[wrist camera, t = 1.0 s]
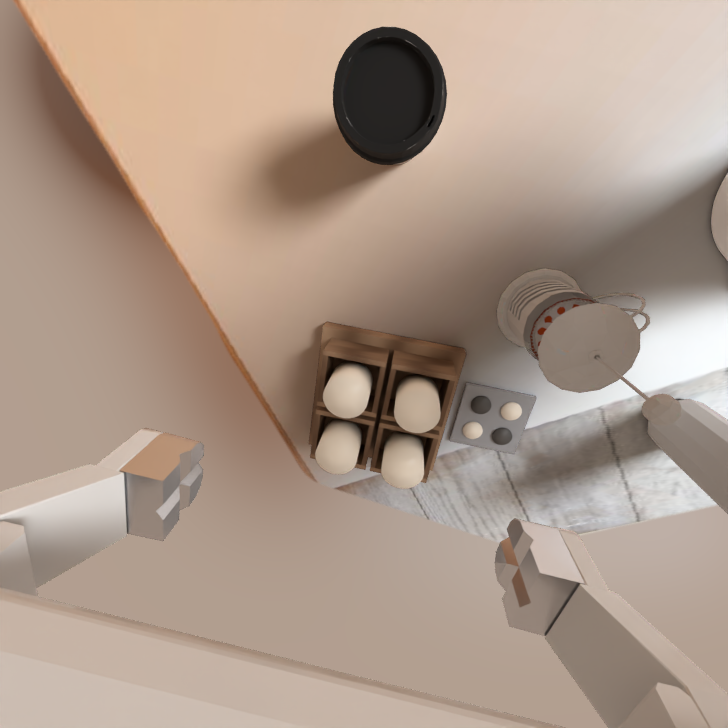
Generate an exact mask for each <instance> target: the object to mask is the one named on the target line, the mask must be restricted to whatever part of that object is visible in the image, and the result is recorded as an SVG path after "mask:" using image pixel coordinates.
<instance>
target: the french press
mask: <svg viewBox="0 0 728 728" xmlns="http://www.w3.org/2000/svg"><path fill="white" fill-rule="evenodd" d="M611 296H632V297H635V298H639V299H640V300H641V301H642V306H641V307H640V309H639V310H638V309H625V308H618V307H617V306H613V305H607V304H601V303H599V302H597V301H596V299H600V298H605V297H611ZM644 307H645V299H644V298H643V297H641V296H638V295H635V294H630V293H613V294H606V295H602V296H597V297H593V298H592V297H590V296H589V295H588V294H586V293H583V292H582V291H581V289H580V288H579V286H578V284H577V282H576V281H575V279H573V278H572V277H570V276H569V275H567V274H566V273H564V272H562V271H560V270H553V269H547V268H542V269H538V270H534V271H529V272H526V273H524V274H523V275H521V276H520V277H518V278H517V279H515V280H514V281H512V282H511V283H510V284H509V286H508V287H507V288H506V290H505V291H504V292H503V294H502V295H501V297H500V300H499V304H498V307H497V311H496V312H497V320H498V326H499V328H500V329H501V331H502V332H503V334H504V336H505V337H506V339H508V340H510V341H511V342H513V343H515V344H516V345H518V346H520V347H525V348H526V349H527V351H528V352H529V353H530V354H531V355H532V356H533V357H534V358H535V359H537V360H538V361H539V367H540V368H541V370H542V372H543V374H544V375H545V377H546V379H547V380H548V381H549V382H551V383H552V384H554V385H556V386H557V387H559V388H560V389H562V390H568V391H573V392H578V393H581V392H588V391H594V390H600V389H602V388H604V387H606V386H608V385H610V384H612V383H614V382H616V381H618V380H619V379H621V380H623V381H624V382H625V383H626V384H627V385H629V386H630V387H631V388H632V389H633V390H635V391H636V392H637V393H638V394H639V395H641V396H642V397H643V398H644V399H646V401H645V402H644V404H643V406H642V414H643V415H644V417H645V418H647V419H648V420H649V421H651V422H652V423H653V424H655V425H663V426H667V425H669V424H672V423H674V422H676V421H677V420H678V419H679V418H680V417H681V404H680V403H679V402H678V401H677V400H675V399H674V398H673V397H671V396H670V395H667V394H658V395H654V396H652V397H650V398H649V397H647V396H646V395H645V394H644V393H642V392H641V391H640V390H639V389H637V388H636V387H635V386H634V385H633V384H631V383H630V382H629V381H628V380H626V379H625V378H624V377H623V375H624V374H625V373H626V372H627V371H628V370H629V369H630V368H631V367H632V365H633V363H634V361H635V359H636V357H637V355H638V353H639V351H640V332H641V331H643V330H645V329H646V327H647V326H648V325H649V323H650V317H649V316H648V315H647V314H645V313H644V312H642V310H643V309H644ZM624 311H631V312H635V313H633V314H632V315H629V314H627V313H626V312H624ZM637 314H641V315H643V316H645V318H646V323H645V325H644V326H643V328H641V329H638V327H637V325H636V324H635V322H634V320H633V317H634V316H636V315H637ZM528 348H530V349H531V350H530V349H528ZM529 350H530V351H531V352H533V353H534V354H533V353H531V352H530V351H529Z"/></svg>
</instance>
